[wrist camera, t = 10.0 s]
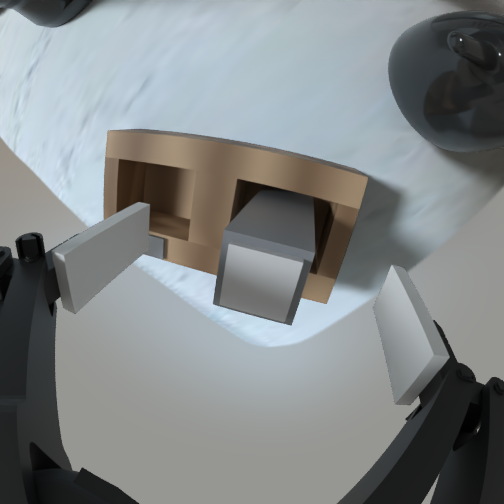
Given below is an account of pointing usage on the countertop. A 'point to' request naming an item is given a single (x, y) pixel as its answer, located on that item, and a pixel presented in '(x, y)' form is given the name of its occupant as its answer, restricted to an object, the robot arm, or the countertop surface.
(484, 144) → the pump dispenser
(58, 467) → the robot arm
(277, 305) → the plug
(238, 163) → the socket block
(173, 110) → the countertop surface
